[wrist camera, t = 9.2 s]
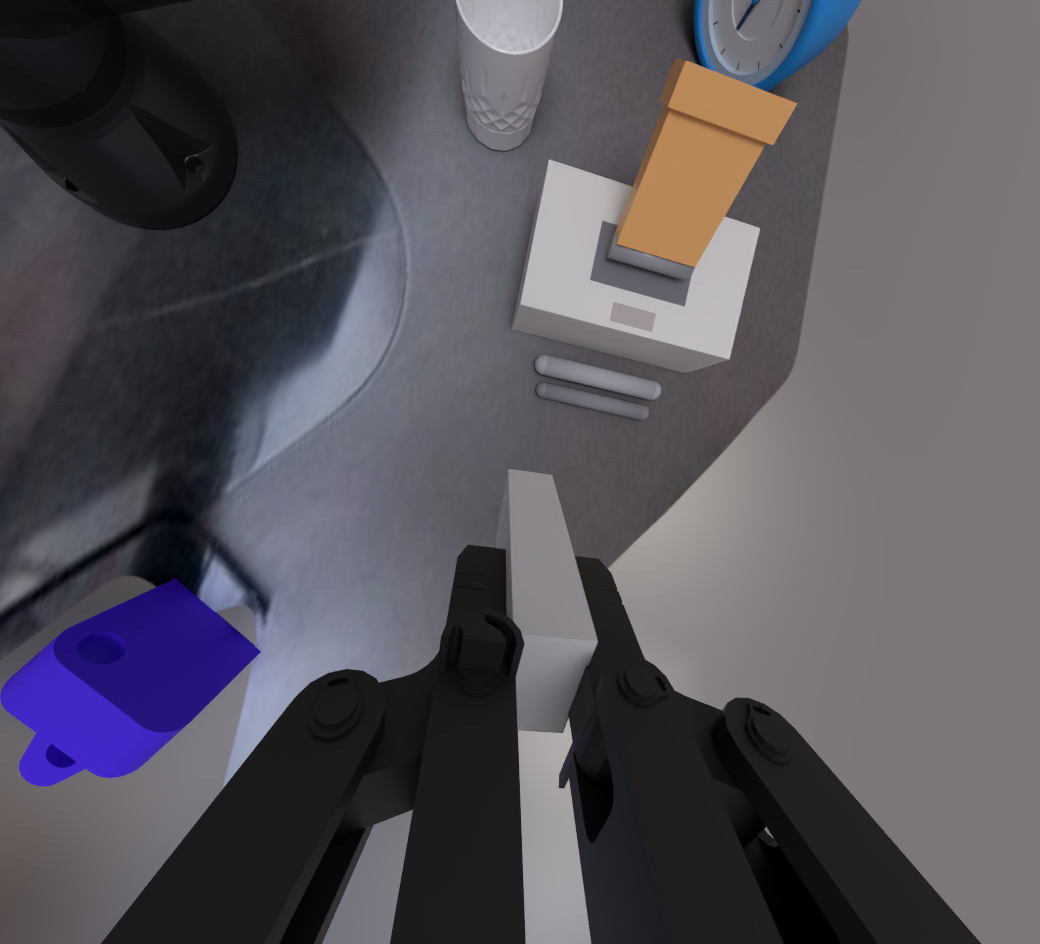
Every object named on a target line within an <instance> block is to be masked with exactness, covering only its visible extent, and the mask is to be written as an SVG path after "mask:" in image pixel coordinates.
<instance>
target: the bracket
mask: <svg viewBox="0 0 1040 944" xmlns="http://www.w3.org/2000/svg"><path fill="white" fill-rule="evenodd" d="M260 652H261V651H259V650H258V649H257V648H256V647H255V645H254V644H253V643H251V642H250V641H249V640H248V639H247V638H246V637H244V636H243V635H242V634H241V633H240V632H238V630H236V629H235V628H234V627H233V626H232V625H231V624H229V623H228V622H227V621H226V620H225V619H224V618H222V617H221V616H220V615H219V614H218V613H217V612H214V611H213V610H212V609H210V608H209V607H208V606H207V605H206V604H205V603H203V602H202V601H201V600H200V599H199V598H198V597H196V596H195V595H194V594H193V593H192V592H191V591H189V590H188V589H187V588H186V587H185V586H184V585H182V584H181V583H180V582H179V581H178V580H177V579H173V580H171V581H169V582H167V583H165V584H163V585H161V586H158V587H156V588H154V589H152V590H150V591H148V592H145V593H143V594H141V595H139V596H137V597H135V598H133V599H130V600H128V601H126V602H124V603H122V604H119V605H117V606H115V607H113V608H111V609H109V610H106V611H104V612H102V613H100V614H98V615H96V616H94V617H92V618H89V619H87V620H85V621H83V622H81V623H78V624H76V625H74V626H72V627H70V628H68V629H66V630H65V631H63V632H62V633H61V634H60V635H59V636H58V637H56V638H55V639H54V640H53V641H52V642H51V643H50V644H48V645H47V646H46V647H45V648H44V649H43V650H42V651H41V652H39V653H38V654H37V655H36V656H35V657H34V658H32V659H31V660H30V661H29V662H28V663H27V664H26V665H25V666H23V667H22V668H21V669H20V670H19V671H18V672H17V673H15V674H14V675H13V676H12V677H11V678H10V679H9V680H8V681H7V682H6V683H5V685H4V686H3V688H2V691H1V695H0V697H1V703H2V705H3V707H4V708H5V709H6V711H8V712H9V713H10V714H11V715H13V716H14V717H16V718H17V719H18V720H20V721H21V722H22V723H24V724H25V725H27V726H28V727H29V728H31V729H32V730H33V731H35V732H36V735H35V737H34V738H33V740H32V742H31V743H30V745H29V747H28V748H27V750H26V752H25V753H24V755H23V757H22V758H21V761H20V764H19V769H20V773H21V775H22V777H23V778H24V779H25V780H26V781H28V782H30V783H31V784H33V785H37V786H50V785H54V784H56V783H58V782H60V781H62V780H64V779H66V778H68V777H70V776H72V775H74V774H76V773H78V772H80V771H82V770H84V769H87V770H88V771H90V772H91V773H93V774H95V775H97V776H101V777H107V778H108V777H109V778H113V777H120V776H124V775H126V774H129V773H131V772H133V771H135V770H137V769H138V768H139V767H141V766H142V765H143V764H144V763H145V762H147V761H148V760H149V759H150V758H151V757H152V756H153V755H154V754H155V753H156V752H158V751H159V750H160V749H161V748H162V747H163V746H164V745H165V744H166V743H167V742H169V741H170V740H171V739H172V738H173V737H174V736H175V735H176V734H177V733H178V732H180V731H181V730H182V729H183V728H184V727H185V726H186V725H187V724H188V723H189V722H190V721H192V720H193V719H194V718H195V717H196V716H197V715H198V714H199V713H200V712H201V711H202V709H204V707H205V706H207V705H208V704H209V703H210V702H211V701H212V700H213V699H214V698H215V697H216V696H217V695H218V694H219V693H220V692H221V691H222V690H223V689H224V688H225V687H226V686H227V685H228V684H229V683H230V682H231V681H232V680H233V679H234V678H235V677H236V676H237V675H238V674H239V673H240V672H241V671H242V670H243V669H244V668H245V667H246V666H247V665H248V664H249V663H250V662H251V661H252V660H253V659H254V658H255V657H256V656H257V655H258V654H259V653H260Z"/></svg>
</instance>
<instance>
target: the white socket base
mask: <svg viewBox="0 0 1040 944" xmlns="http://www.w3.org/2000/svg"><path fill="white" fill-rule="evenodd" d="M631 189H632V186H629V185H626V184H623V183H620V182H617V181H614V180H611V179H608V178H604V177H601V176H598V175H595V174H592V173H589V172H586V171H583V170H580V169H577V168H574V167H571V166H568V165H565V164H562V163H558V162H555V161H552V160H549V162H548V165H547V169H546V173H545V176H544V180H543V184H542V187H541V191H540V195H539V199H538V202H537V206H536V210H535V214H534V219H533V224H532V229H531V234H530V239H529V244H528V249H527V254H526V259H525V264H524V269H523V274H522V279H521V284H520V289H519V294H518V299H517V304H516V309H515V314H514V319H513V324H512V330H516V331H520V332H524V333H528V334H532V335H536V336H540V337H544V338H548V339H552V340H556V341H560V342H564V343H568V344H572V345H576V346H580V347H584V348H588V349H592V350H596V351H600V352H603V353H607V354H611V355H615V356H619V357H623V358H627V359H631V360H635V361H639V362H643V363H647V364H651V365H655V366H659V367H663V368H667V369H671V370H675V371H679V372H683V373H688V372H691V371H695V370H698V369H701V368H704V367H707V366H710V365H713V364H717V363H720V362H723V361H726V360H729V359H730V355H731V350H732V346H733V342H734V337H735V333H736V329H737V325H738V320H739V316H740V312H741V307H742V303H743V299H744V295H745V290H746V286H747V282H748V277H749V273H750V269H751V265H752V260H753V256H754V252H755V247H756V243H757V239H758V235H759V230H760V228H758V227H755V226H752V225H749V224H746V223H743V222H740V221H736V220H733V219H730V218H727V217H724V218H723V220H722V222H721V223H720V225H719V227H718V229H717V230H716V232H715V234H714V236H713V237H712V239H711V241H710V243H709V244H708V246H707V248H706V250H705V251H704V253H703V255H702V256H701V258H700V260H699V262H698V263H697V265H696V267H695V269H694V271H693V273H692V275H691V276H690V278H689V279H688V280H686V281H685V280H682V279H678V278H675V277H671V276H668V275H664V274H661V273H658V272H654V271H651V270H647V269H644V268H640V267H637V266H634V265H630V264H627V263H623V262H620V261H617V260H613V259H610V258H607V251H608V247H609V244H610V241H611V239H612V237H613V235H614V234H615V231H616V228H617V226H618V223H619V221H620V218H621V215H622V213H623V210H624V208H625V205H626V202H627V200H628V197H629V195H630V192H631Z"/></svg>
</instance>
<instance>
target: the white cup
mask: <svg viewBox="0 0 1040 944" xmlns="http://www.w3.org/2000/svg"><path fill="white" fill-rule="evenodd" d="M455 8H456V21H457V35H458V49H459V59H460V70H461V80H462V90H463V94H464V107H465V113H466V118H467V123H468V127H469V128H470V130H471V131H472V133H473V134H474V136H475V137H476V139H477V140H478V141H479V142H481V143H482V144H484V145H486V146H487V147H489V148H490V149H493V150H501V151H508V150H511V149H513V148H516V147H518V146H520V145H521V144H522V143H523V142H524V140H525V139H526V138H527V137H528V136H529V134H530V131H531V127H532V123H533V119H534V115H535V112H536V108H537V106H538V105H539V101H540V97H541V94H542V91H543V87H544V82H545V79H546V76H547V72H548V68H549V63H550V59H551V55H552V51H553V47H554V43H555V39H556V35H557V31H558V27H559V23H560V19H561V15H562V8H563V0H455Z"/></svg>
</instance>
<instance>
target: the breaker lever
mask: <svg viewBox="0 0 1040 944" xmlns="http://www.w3.org/2000/svg"><path fill="white" fill-rule="evenodd" d="M659 102H661V103H662V104H664V106H663V109H662V112H661V114H660V117H659V119H658V122H657V125H656V127H655V130H654V132H653V135H652V138H651V140H650V143H649V145H648V148H647V151H646V153H645V156H644V158H643V161H642V164H641V166H640V169H639V171H638V174H637V177H636V179H635V182H634V184H633V187H632V189H631V192H630V195H629V197H628V200H627V202H626V205H625V208H624V210H623V213H622V215H621V218H620V221H619V223H618V226H617V228H616V231H615V234H614V235H613V237H612V239H611V241H610V244H609V247H608V251H607V258H610V259H613V260H617V261H620V262H623V263H627V264H630V265H634V266H637V267H640V268H644V269H647V270H651V271H654V272H658V273H661V274H664V275H668V276H671V277H675V278H678V279H682V280H685V281H686V280H688V279H689V278H690V276H691V275H692V273H693V271H694V269H695V267H696V265H697V263H698V262H699V260H700V258H701V256H702V255H703V253H704V251H705V250H706V248H707V246H708V244H709V243H710V241H711V239H712V237H713V236H714V234H715V232H716V230H717V229H718V227H719V225H720V223H721V222H722V220H723V218H724V216H725V215H726V213H727V211H728V209H729V208H730V206H731V204H732V202H733V201H734V199H735V197H736V195H737V194H738V192H739V190H740V188H741V187H742V185H743V183H744V181H745V180H746V178H747V176H748V174H749V173H750V171H751V169H752V168H753V166H754V164H755V162H756V161H757V159H758V157H759V155H760V154H761V152H762V150H763V148H764V147H765V145H766V143H768V144H771V145H773V144H774V143H775V141H776V139H777V138H778V136H779V134H780V132H781V131H782V129H783V127H784V126H785V124H786V122H787V121H788V119H789V117H790V115H791V114H792V112H793V110H794V109H795V107H796V105H797V103H795V102H792V101H790V100H787V99H784V98H782V97H779V96H777V95H774V94H772V93H769V92H766V91H764V90H761V89H759V88H756V87H754V86H751V85H748V84H746V83H743V82H741V81H738V80H735V79H733V78H730V77H728V76H725V75H723V74H720V73H717V72H715V71H712V70H710V69H707V68H705V67H702V66H699V65H697V64H694V63H692V62H689V61H686V60H682V59H675V61H674V64H673V67H672V69H671V72H670V75H669V77H668V80H667V83H666V85H665V88H664V91H663V93H662V96H661V99H660V101H659Z"/></svg>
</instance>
